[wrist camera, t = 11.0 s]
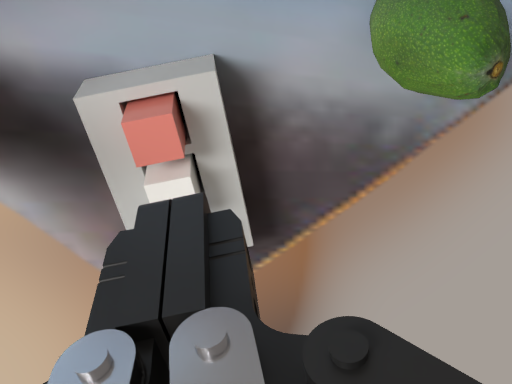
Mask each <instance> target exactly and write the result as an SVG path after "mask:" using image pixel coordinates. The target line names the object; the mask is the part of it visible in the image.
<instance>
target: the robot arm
mask: <svg viewBox="0 0 512 384" xmlns="http://www.w3.org/2000/svg"><path fill="white" fill-rule="evenodd" d="M99 282H100V283H99V284H98V286H97V290H96V294H95V297H94V301H93V305H92V309H91V313H90V317H89V321H88V324H87V328H86V332H85V336H84V337H82V338H81V339H79V340H77V341H76V342H75V343H73V344H72V345H71V346H70V347H69V348H68V349H66V350H65V351H64V353H63V354H62V355H61V356H60V358H59V359H58V361H57V362H56V364H55V366H54V368H53V370H52V373H51V375H50V378H49V381H47V382H45V383H43V384H482V383H480V382H478V381H476V380H475V379H473V378H471V377H469V376H468V375H466V374H464V373H462V372H461V371H459V370H457V369H455V368H454V367H452V366H450V365H448V364H447V363H445V362H443V361H441V360H440V359H438V358H436V357H434V356H432V355H431V354H429V353H427V352H425V351H424V350H422V349H420V348H418V347H417V346H415V345H413V344H411V343H410V342H408V341H406V340H404V339H403V338H401V337H399V336H397V335H395V334H394V333H392V332H390V331H388V330H387V329H385V328H383V327H381V326H380V325H378V324H376V323H374V322H372V321H370V320H367V319H364V318H360V317H354V316H345V317H344V316H343V317H337V318H333V319H330V320H327V321H325V322H323V323H321V324H320V325H318V326H317V327H316V328H315V329H314V330H312V332H311V333H310V334H309V335H296V334H288V333H282V332H279V331H276V330H274V329H271V328H270V327H268V326H267V325H265V324H264V323H263V322H262V321H261V320H260V314H259V307H258V302H257V301H258V300H257V294H256V289H255V280H254V273H253V268H252V264H251V260H250V255H249V251H248V247H247V243H246V239H245V235H244V230H243V226H242V222H241V220H240V219H239V218H238V217H237V216H236V214H235V213H234V212H233V211H232V210H231V209H227V210H222V211H217V212H212V213H211V210H210V207H209V203H208V200H207V197H206V194H205V193H204V192H201V193H196V194H192V195H187V196H182V197H177V198H173V199H168V200H163V201H158V202H153V203H148V204H144V205H139V207H138V209H137V215H136V220H135V225H134V229H130V230H125V231H120V232H119V234H118V235H117V236H116V237H115V239H114V240H113V241H112V243H111V244H110V245H109V246H108V248H107V251H106V255H105V259H104V262H103V269H102V270H101V274H100V278H99Z"/></svg>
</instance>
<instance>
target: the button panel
mask: <svg viewBox="0 0 512 384" xmlns="http://www.w3.org/2000/svg"><path fill="white" fill-rule="evenodd" d="M174 91H178V94H179V98H180V102H181V106H182V109H183V113H184V117H185V120H186V123H184V127H185V131H186V132H185V155H186V154H191V153H194V154H195V157H196V161H197V165H198V168H199V172H200V174H198V178H199V181H200V193H201V192H204V193H205V194H206V197H207V200H208V203H209V207H210V210H211V213H212V212H217V211H222V210H227V209H231V210H232V211H233V212H234V213H235V214H236V216H237V217H238V218H239V219H240V220H241V222H242V226H243V230H244V235H245V239H246V243H247V247H250V246H253V240H252V234H251V229H250V223H249V218H248V213H247V208H246V204H245V199H244V194H243V190H242V185H241V181H240V176H239V171H238V167H237V162H236V157H235V153H234V148H233V143H232V139H231V134H230V129H229V125H228V120H227V116H226V111H225V106H224V102H223V97H222V92H221V88H220V83H219V78H218V74H217V69H216V64H215V60H214V55H213V54H210V55H205V56H200V57H195V58H190V59H185V60H180V61H175V62H170V63H165V64H160V65H155V66H150V67H145V68H140V69H135V70H130V71H125V72H120V73H115V74H110V75H105V76H100V77H95V78H90V79H85V80H84V81H83V83H82V85H81V86H80V88H79V90H78V91H77V93H76V95H75V96H74V98H73V100H74V103H75V105H76V107H77V110H78V112H79V115H80V117H81V120H82V122H83V125H84V127H85V130H86V132H87V134H88V137H89V139H90V142H91V144H92V147H93V149H94V152H95V154H96V157H97V159H98V161H99V164H100V166H101V169H102V171H103V174H104V176H105V179H106V181H107V184H108V186H109V188H110V191H111V193H112V196H113V198H114V201H115V203H116V206H117V208H118V211H119V213H120V215H121V218H122V220H123V223H124V225H125V228H126V230H130V229H134V225H135V220H136V215H137V209H138V207H139V205H144V204H148V203H149V200H148V197H147V194H146V191H145V189H144V180H145V175H146V169H147V166H142V167H136V164H135V162H134V159H133V156H132V153H131V151H130V148H129V145H128V142H127V139H126V137H125V134H124V131H123V128H122V125H121V121H122V118H123V115H124V112H125V109H126V105H127V102H128V101H130V100H135V99H140V98H145V97H149V96H154V95H159V94H164V93H169V92H174Z"/></svg>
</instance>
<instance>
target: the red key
mask: <svg viewBox="0 0 512 384" xmlns="http://www.w3.org/2000/svg"><path fill="white" fill-rule="evenodd" d="M121 125H122V128H123V131H124V134H125V137H126V139H127V142H128V145H129V148H130V151H131V153H132V156H133V159H134V162H135V164H136V167H142V166H147V165H152V164H157V163H162V162H167V161H172V160H177V159H182V158H185V132H186V131H185V127H184V124H183V120H182V116H181V113H180V109H179V105H178V102H177V98H176V95H175V91H174V92H169V93H164V94H159V95H154V96H149V97H145V98H140V99H135V100H130V101H128V102H127V105H126V109H125V112H124V115H123V118H122V121H121Z"/></svg>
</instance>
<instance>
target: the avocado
mask: <svg viewBox="0 0 512 384" xmlns="http://www.w3.org/2000/svg"><path fill="white" fill-rule="evenodd" d="M370 32H371V41H372V48H373V53H374V55H375V57H376V59H377V61H378V63H379V65H380V67H381V68H382V69H383V70H384V71H385V72H386V73H387V74H388V75H390V76H391V77H392V78H393V79H394V80H395V81H396V82H397V83H398V84H400V85H401V86H402V87H403V88H404V89H408V90H411V91H415V92H418V93H423V94H428V95H434V96H440V97H445V98H451V99H460V100H461V99H473V98H480V97H481V96H483V95H485V94H486V93H488V92H490V91H492V90H494V89H495V88H497V87H498V85H499V82H500V80H501V78H502V76H503V74H504V72H505V69H506V67H507V64H508V61H509V58H510V51H511V43H510V34H509V25H508V21H507V16H506V12H505V9H504V7H503V6H502V4H501V2H500V1H499V0H376V3H375V5H374V8H373V11H372V13H371V16H370Z"/></svg>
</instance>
